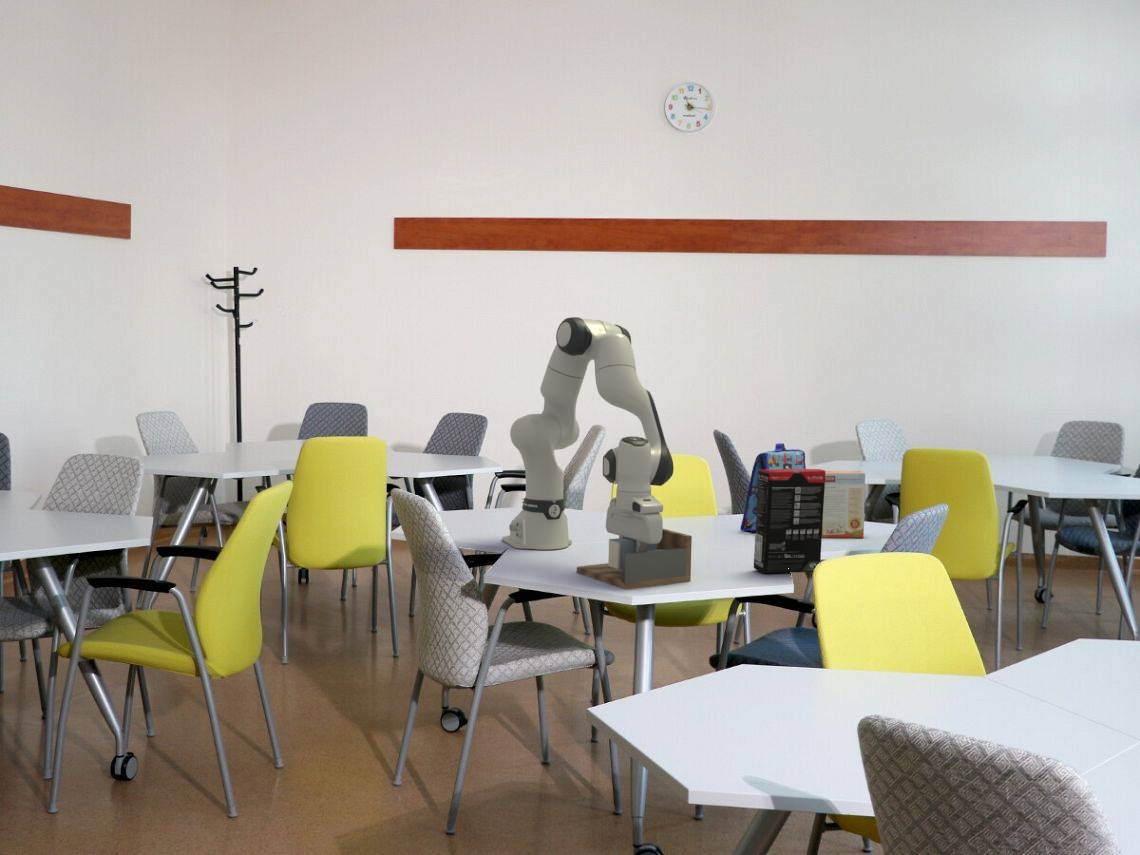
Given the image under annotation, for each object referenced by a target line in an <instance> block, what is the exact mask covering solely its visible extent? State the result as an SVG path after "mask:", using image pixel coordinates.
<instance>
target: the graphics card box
mask: <svg viewBox="0 0 1140 855" xmlns="http://www.w3.org/2000/svg"><path fill="white" fill-rule="evenodd" d="M825 471H826V470H824V469H821V468H806V469H764V470H759V473H758V494H757V515H756V532H755V535H754V536H755V537H754V554H753V569H754V570H757V571H758V572H761V573H763V574H780V573H782V574H783V573H784V574H785V573H786V574H788V573H813V572H812V570H813V568H814V566H816V565H817V564H818V563H819V562H820V563H821V558H822V539H823V538H822V524H823V507H824V491H825V475H826V473H825ZM788 568H789V569H788Z"/></svg>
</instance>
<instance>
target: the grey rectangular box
mask: <svg viewBox="0 0 1140 855" xmlns="http://www.w3.org/2000/svg"><path fill="white" fill-rule="evenodd" d="M637 546H638V545H637V544H636V540H633V539H630V538H619V537H618V538H609V539H608V563H609V564H608V566H609V567H611V568H614V569H617V570H618V569H622V553H631V552H634V551H635V550H636V549H637ZM650 550H657V543H656V544H648V543H646V547H645V549H644V551H650Z"/></svg>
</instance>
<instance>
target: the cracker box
mask: <svg viewBox="0 0 1140 855" xmlns="http://www.w3.org/2000/svg"><path fill="white" fill-rule="evenodd" d="M824 471H825V473H826V475H825V491H824V507H823V524H822V539H828V538H829V539H831V538H832V539H833V538H834V539H837V538H838V539H842V538H843V539H844V538H845V539H864V537H865V536H864V530H865V529H864V528H865V498H866V494H865V493H866V473H865V472H862V471H861V470H860V471H859V470H858V471H857V470H856V471H855V470H853V471H851V470H850V471H849V470H824Z"/></svg>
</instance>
